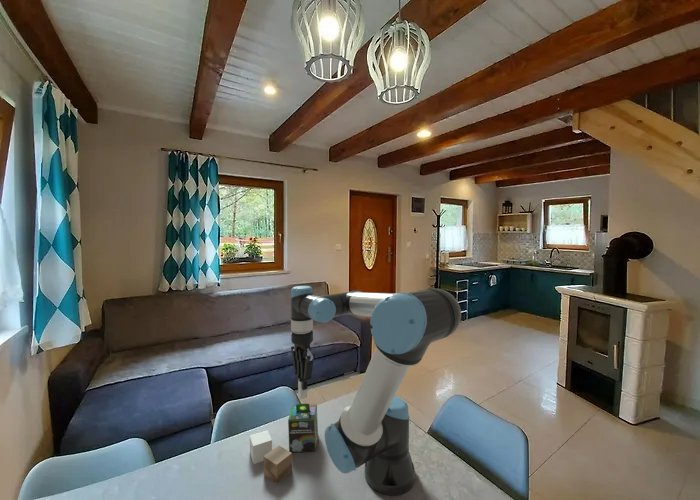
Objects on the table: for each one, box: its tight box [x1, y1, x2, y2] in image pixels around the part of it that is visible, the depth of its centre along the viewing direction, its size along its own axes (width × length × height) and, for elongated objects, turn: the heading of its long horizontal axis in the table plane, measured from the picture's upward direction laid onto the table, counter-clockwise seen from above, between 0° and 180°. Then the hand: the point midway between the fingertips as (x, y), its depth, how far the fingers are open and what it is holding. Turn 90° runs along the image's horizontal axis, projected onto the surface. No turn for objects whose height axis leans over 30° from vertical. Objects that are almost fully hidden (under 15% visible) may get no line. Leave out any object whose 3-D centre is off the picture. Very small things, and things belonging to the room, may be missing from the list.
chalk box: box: [287, 403, 319, 453], centre depth 105 cm, size 9×9×15 cm
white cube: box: [249, 429, 273, 465], centre depth 99 cm, size 6×6×6 cm
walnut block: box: [263, 445, 293, 485], centre depth 91 cm, size 6×6×6 cm
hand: (302, 397), depth 105 cm, fingers closed
